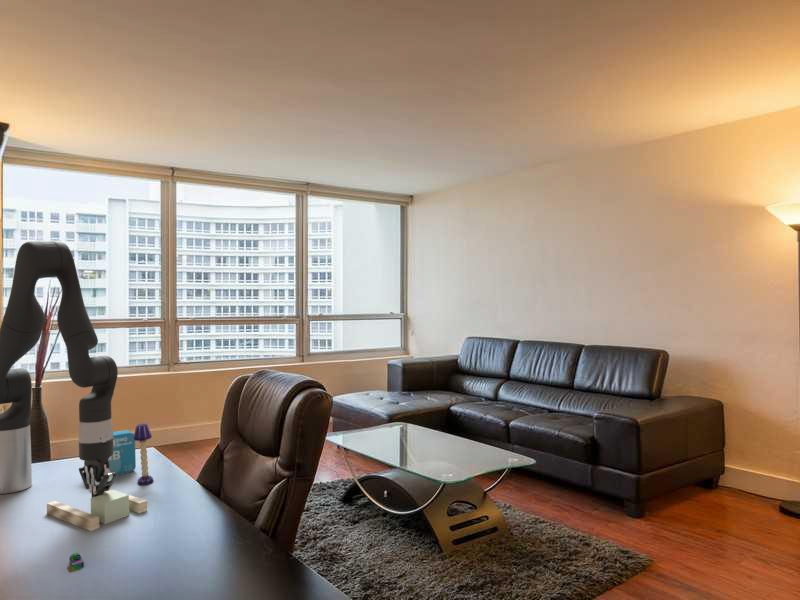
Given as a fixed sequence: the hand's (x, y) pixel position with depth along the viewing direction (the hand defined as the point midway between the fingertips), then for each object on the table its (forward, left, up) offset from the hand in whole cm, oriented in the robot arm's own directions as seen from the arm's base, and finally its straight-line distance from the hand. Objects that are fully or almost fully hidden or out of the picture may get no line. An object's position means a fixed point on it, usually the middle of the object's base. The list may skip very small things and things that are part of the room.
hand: (97, 507), depth 141 cm
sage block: (+6, 0, -1) cm, 6 cm away
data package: (-26, +19, -1) cm, 32 cm away
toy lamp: (-10, +19, -1) cm, 22 cm away
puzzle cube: (+24, -17, -2) cm, 29 cm away
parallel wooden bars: (0, 0, -1) cm, 1 cm away
